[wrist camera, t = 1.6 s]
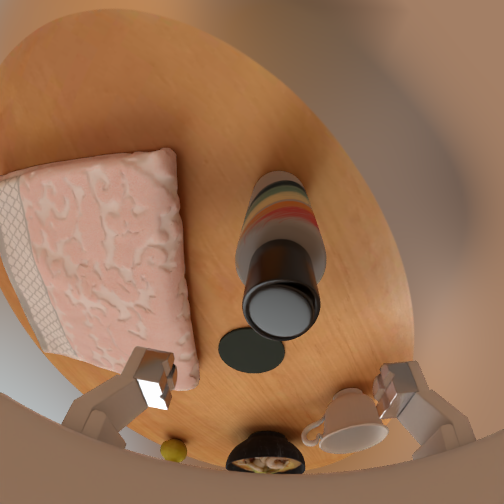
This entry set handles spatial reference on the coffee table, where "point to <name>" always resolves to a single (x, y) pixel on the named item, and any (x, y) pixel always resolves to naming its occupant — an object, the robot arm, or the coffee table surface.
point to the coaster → (250, 351)
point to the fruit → (174, 450)
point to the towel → (101, 258)
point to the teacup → (348, 424)
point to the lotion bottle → (280, 259)
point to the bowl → (266, 455)
